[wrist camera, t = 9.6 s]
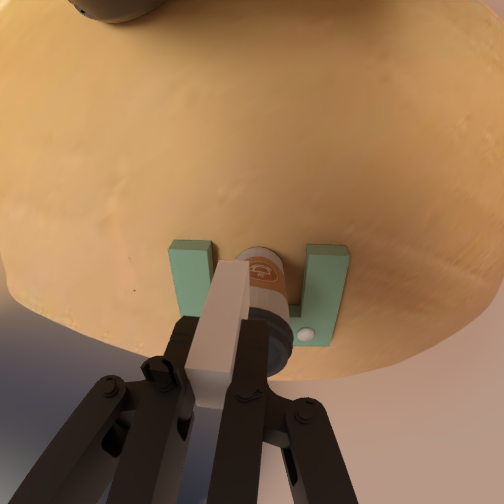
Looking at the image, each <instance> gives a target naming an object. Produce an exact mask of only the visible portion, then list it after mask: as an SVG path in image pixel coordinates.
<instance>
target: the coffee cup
mask: <svg viewBox="0 0 504 504" xmlns="http://www.w3.org/2000/svg"><path fill="white" fill-rule="evenodd" d="M235 260H236V261H249V288H250V305H249V312H248V320H265V321H266V323H267V325H268V327H269V329H270V337H269V355H268V372H267V377H270V376H273V375H275V374H277V373H278V372H280V371H281V370H282V369H283V368H284V367H285V365H286V364H287V361H288V359H289V357H290V356H291V354H292V349H293V341H294V336H293V331H292V329H291V327H290V318H289V303H288V296H287V288H286V281H285V276H284V269H283V264H282V262H281V260H280V258H279V257H278V256H277V255H276V254H275V253H274V252H272V251H271V250H269V249H266V248H263V247H254V248H250V249H247V250H245V251H243V252H242V253H240V254H239V255H238V257H237V258H236V259H235Z"/></svg>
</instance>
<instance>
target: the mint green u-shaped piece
mask: <svg viewBox="0 0 504 504" xmlns="http://www.w3.org/2000/svg"><path fill="white" fill-rule="evenodd" d="M168 253H169V259H170V265H171V270H172V275H173V281H174V286H175V291H176V296H177V301H178V305H179V310H180V315H181V318H182V317H183V316H184V315H185V316H196V317H200V316H201V313H202V310H203V307H204V303H205V300H206V297H207V294H208V291H209V288H210V285H211V282H212V279H213V276H214V267H213V256H212V245H211V241H200V240H174V241H173V242H172V244H171V245H170V247H169V248H168ZM349 258H350V255H349V252H348V250H347V247H346V246H338V245H314V244H307V251H306V260H305V270H304V278H303V287H302V295H301V303H300V306H291V305H289V318H290V327H291V329H292V331H293V336H294V341H293V346H329V345H330V342H331V338H332V334H333V330H334V326H335V322H336V318H337V314H338V310H339V306H340V301H341V297H342V293H343V288H344V283H345V279H346V274H347V269H348V264H349Z"/></svg>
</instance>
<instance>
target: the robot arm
mask: <svg viewBox="0 0 504 504" xmlns="http://www.w3.org/2000/svg"><path fill="white" fill-rule="evenodd" d="M68 1H69V2H70V3H72V4H73V5H74V6H75V8H76V9H77V10H78V11H79V12H80V13H81V14H82V15H84V16H86V17H88V18H90V19H94V20H97V21H101V22H105V23H119V22H125V21H129V20H132V19H135V18H138V17H140V16H143V15H145V14H147V13H149V12H151V11H152V10H154V9H156V8H157V7H159V6H160V5H162V4H163V3H165V2H166V1H167V0H68ZM249 305H250V288H249V261H236V260H219V261H218V264H217V267H216V270H215V273H214V276H213V279H212V282H211V285H210V288H209V291H208V294H207V297H206V300H205V303H204V307H203V310H202V313H201V316H200V317H196V316H185V315H184V316H183V317H182V318H181V319H180V320H179V321H178V322H177V323H176V324H175V327H174V329H173V332H172V335H171V337H170V341H169V342H168V345H167V348H166V350H165V353H164V355H163V356H154V357H151V358H149V359H148V360H146V361H145V362H144V363H143V364H142V366H141V367H140V368H141V370H142V372H143V374H144V376H145V378H146V380H142V381H135V382H124V381H123V380H122V379H121V378H120V377H118V376H115V375H107V376H105V377H103V378H101V379H100V380H99V381H97V383H96V384H95V385H94V386H93V388H92V389H91V390H90V391H89V393H88V394H87V395H86V397H85V398H84V399H83V400H82V402H81V403H80V404H79V406H78V407H77V408H76V410H75V411H74V412H73V413H72V415H71V416H70V417H69V419H68V420H67V422H65V424H64V425H63V426H62V428H61V429H60V430H59V432H58V433H57V435H56V436H55V437H54V439H53V440H52V441H51V443H50V444H49V445H48V447H47V448H46V450H45V451H44V452H43V454H42V455H41V456H40V458H39V459H38V461H37V462H36V463H35V465H34V466H33V467H32V469H31V470H30V472H29V473H28V475H27V476H26V477H25V479H24V480H23V482H22V483H21V485H20V486H19V488H18V489H17V491H16V492H15V494H14V495H13V497H12V498H11V500H10V501H9V503H8V504H96V503H97V502H98V500H99V499H100V497H101V495H102V494H103V492H104V491H105V489H106V488H107V486H108V484H109V483H110V481H111V480H112V478H113V477H114V479H113V481H112V485H111V488H110V491H109V495H108V498H107V502H106V504H176V500H177V495H178V490H179V486H180V481H181V476H182V472H183V467H184V462H185V458H186V453H187V449H188V444H189V440H190V435H191V431H192V427H193V422H194V412H193V407H194V403H195V402H196V405H197V406H199V407H207V408H215V409H223V412H222V418H221V423H220V429H219V435H218V440H217V446H216V453H215V458H214V463H213V469H212V475H211V481H210V486H209V492H208V498H207V504H257V496H258V486H259V476H260V465H261V453H262V442H263V441H264V442H266V443H269V444H272V445H275V446H278V447H280V448H281V452H282V456H283V461H284V465H285V469H286V473H287V477H288V481H289V485H290V489H291V493H292V497H293V500H294V504H358V501H357V498H356V495H355V492H354V489H353V486H352V484H351V480H350V477H349V475H348V472H347V469H346V466H345V463H344V460H343V458H342V454H341V452H340V449H339V446H338V443H337V440H336V438H335V435H334V432H333V429H332V426H331V424H330V421H329V418H328V415H327V412H326V410H325V408H324V407H323V405H322V404H321V403H320V402H319V401H317V400H316V399H312V398H309V397H307V398H299V399H296V400H294V401H292V400H289V399H286V398H283V397H281V396H278V395H276V394H275V393H274V392H273V391H272V390H271V389H270V388H269V385H268V383H267V372H268V355H269V337H270V329H269V327H268V325H267V323H266V321H265V320H248V312H249Z"/></svg>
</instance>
